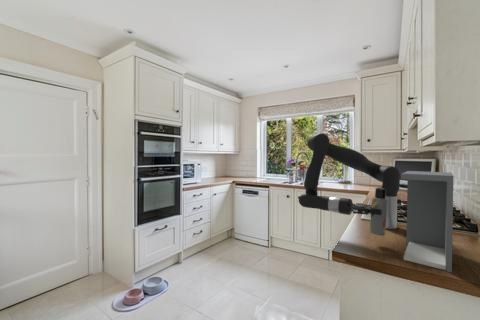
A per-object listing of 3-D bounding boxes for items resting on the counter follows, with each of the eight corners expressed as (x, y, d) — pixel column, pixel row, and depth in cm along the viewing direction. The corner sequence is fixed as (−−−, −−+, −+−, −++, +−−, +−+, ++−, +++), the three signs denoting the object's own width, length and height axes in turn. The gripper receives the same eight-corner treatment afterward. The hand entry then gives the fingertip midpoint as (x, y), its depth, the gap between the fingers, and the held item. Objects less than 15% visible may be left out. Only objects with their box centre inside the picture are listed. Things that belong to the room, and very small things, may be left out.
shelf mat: (409, 245, 98) (409, 241, 98) (444, 252, 91) (444, 248, 91) (403, 259, 84) (403, 255, 84) (445, 270, 76) (445, 265, 76)
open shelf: (406, 242, 101) (408, 171, 100) (449, 251, 92) (451, 172, 91) (400, 259, 84) (401, 173, 84) (451, 272, 75) (453, 175, 74)
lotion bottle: (385, 234, 99) (389, 188, 100) (384, 236, 95) (387, 188, 96) (370, 231, 103) (374, 187, 104) (368, 233, 98) (372, 187, 99)
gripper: (335, 199, 103) (378, 205, 92) (344, 195, 114) (385, 200, 102) (334, 216, 104) (378, 224, 92) (344, 210, 114) (384, 217, 102)
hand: (381, 211), depth 97 cm, fingers closed on lotion bottle, 2 cm apart
